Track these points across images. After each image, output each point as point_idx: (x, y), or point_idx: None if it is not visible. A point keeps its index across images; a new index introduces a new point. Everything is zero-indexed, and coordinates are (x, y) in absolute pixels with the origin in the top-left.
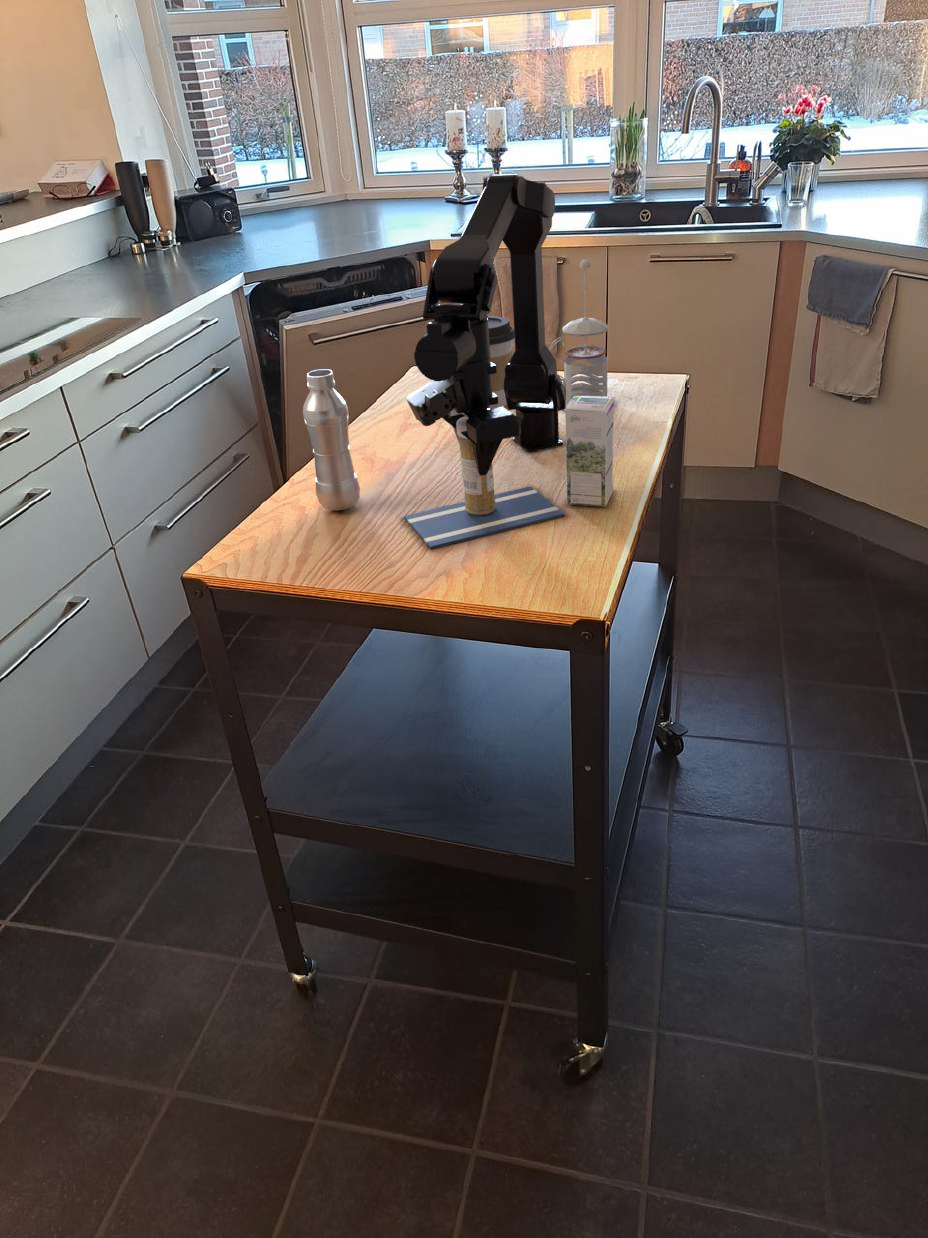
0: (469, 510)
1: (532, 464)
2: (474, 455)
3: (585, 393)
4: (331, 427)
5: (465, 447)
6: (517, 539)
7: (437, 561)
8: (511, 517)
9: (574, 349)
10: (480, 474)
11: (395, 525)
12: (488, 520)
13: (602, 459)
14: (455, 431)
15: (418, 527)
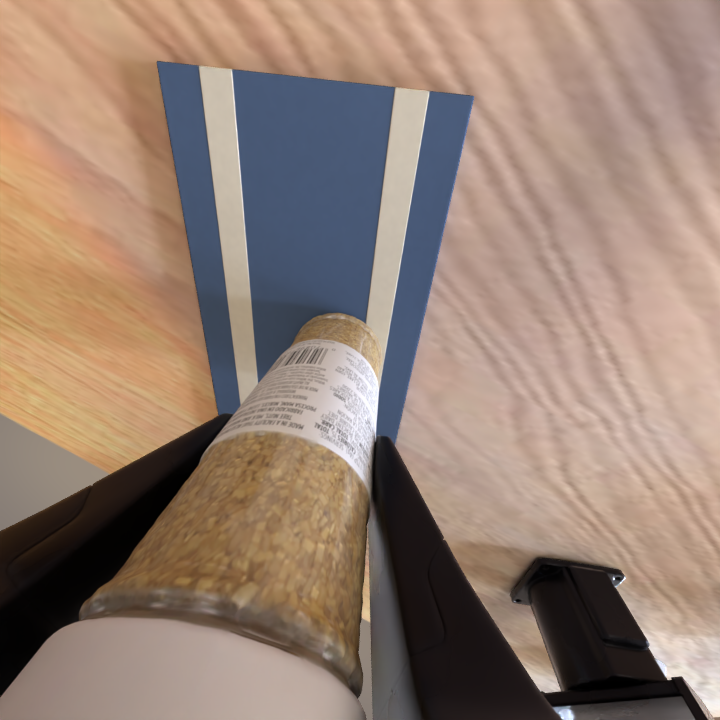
0: (323, 318)
1: (486, 534)
2: (144, 485)
3: None
4: None
5: (179, 514)
6: (155, 339)
7: (62, 39)
8: (254, 384)
9: None
10: (219, 416)
11: (441, 20)
12: (266, 334)
13: None
14: (462, 632)
15: (337, 102)
